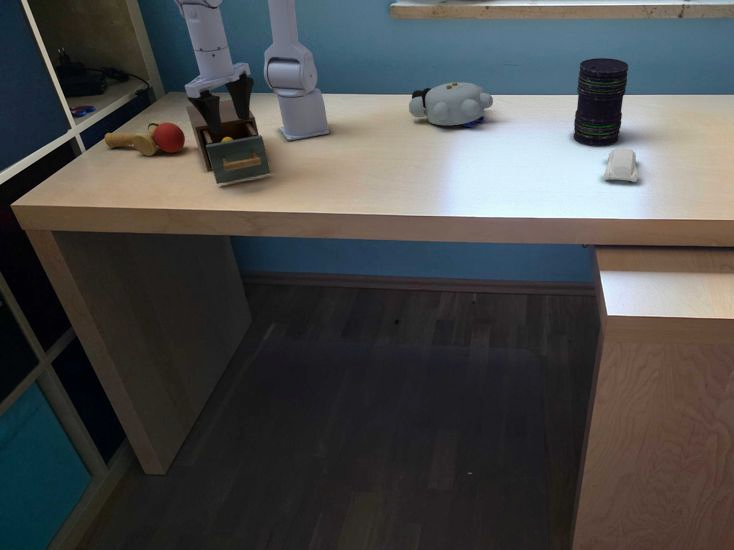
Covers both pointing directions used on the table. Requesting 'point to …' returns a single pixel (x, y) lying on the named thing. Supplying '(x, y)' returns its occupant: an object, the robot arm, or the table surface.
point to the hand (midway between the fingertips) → (230, 125)
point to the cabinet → (227, 118)
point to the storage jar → (600, 101)
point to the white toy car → (621, 165)
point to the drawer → (236, 153)
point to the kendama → (150, 138)
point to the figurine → (451, 104)
